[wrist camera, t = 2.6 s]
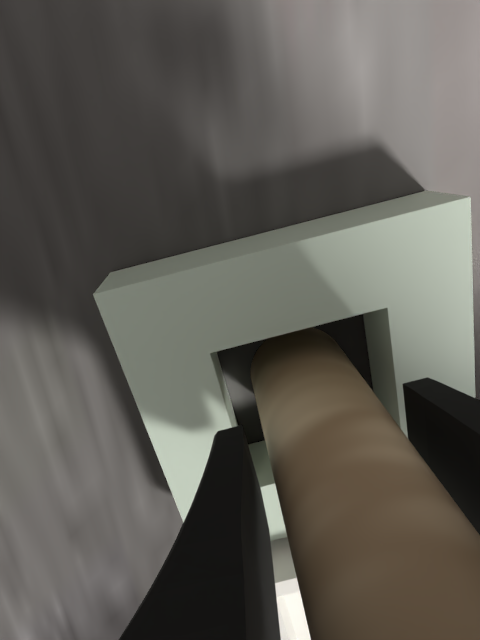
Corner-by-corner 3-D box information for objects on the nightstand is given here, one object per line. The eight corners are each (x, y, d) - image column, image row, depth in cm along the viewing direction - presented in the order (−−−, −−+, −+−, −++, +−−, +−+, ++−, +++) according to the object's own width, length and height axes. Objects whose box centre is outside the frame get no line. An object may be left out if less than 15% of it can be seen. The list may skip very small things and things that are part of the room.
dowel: (336, 315, 12) (611, 631, 4) (349, 397, 14) (587, 775, 5) (240, 340, 13) (321, 703, 4) (261, 420, 14) (358, 833, 5)
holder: (426, 190, 11) (470, 196, 9) (442, 446, 15) (477, 488, 13) (110, 272, 11) (92, 294, 10) (198, 509, 15) (198, 559, 13)
